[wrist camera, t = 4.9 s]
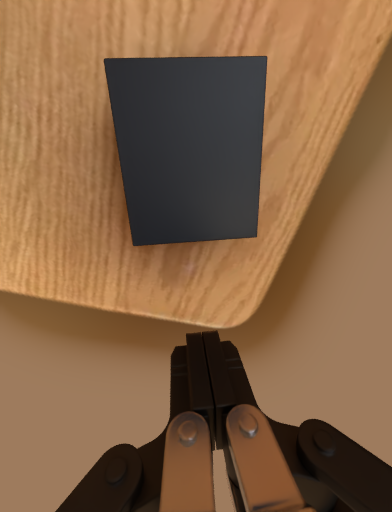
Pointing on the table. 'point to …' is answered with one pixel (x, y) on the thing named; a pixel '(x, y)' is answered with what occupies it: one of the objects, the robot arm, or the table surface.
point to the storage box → (189, 145)
